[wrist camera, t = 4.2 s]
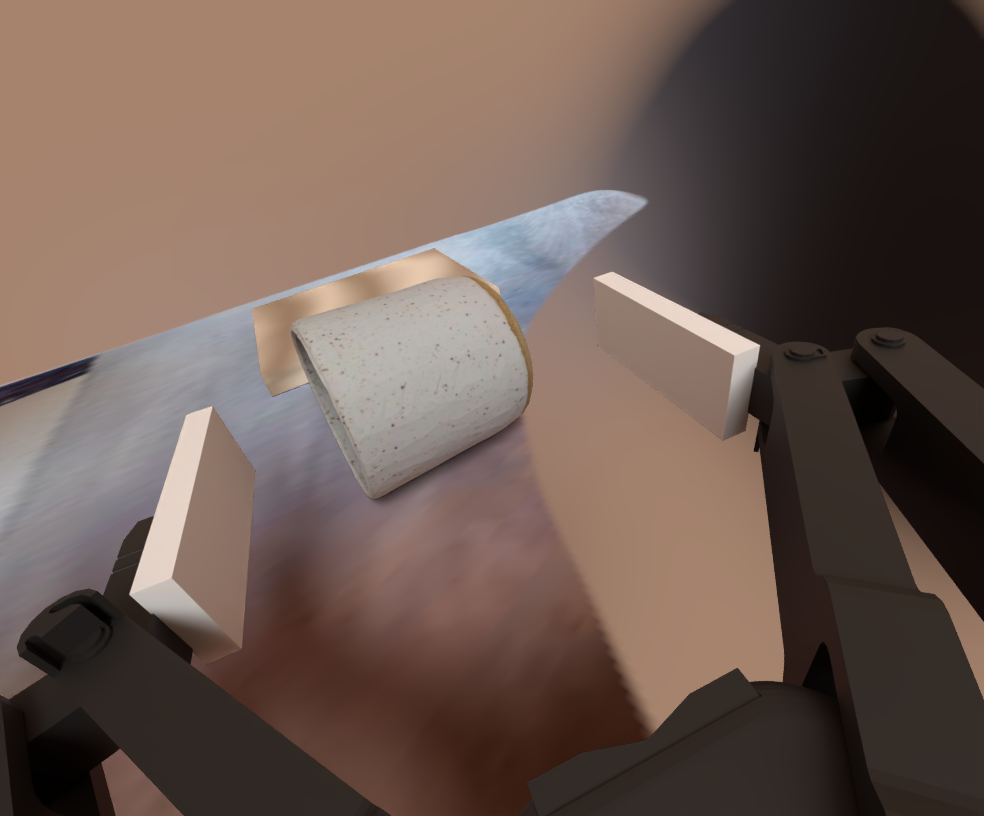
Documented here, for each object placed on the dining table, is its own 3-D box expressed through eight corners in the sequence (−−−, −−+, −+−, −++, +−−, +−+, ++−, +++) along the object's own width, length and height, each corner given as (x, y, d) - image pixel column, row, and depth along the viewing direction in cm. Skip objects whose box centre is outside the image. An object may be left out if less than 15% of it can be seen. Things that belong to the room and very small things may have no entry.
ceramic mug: (556, 437, 21) (531, 271, 17) (391, 537, 18) (310, 367, 14) (445, 360, 29) (409, 233, 25) (318, 421, 26) (251, 290, 22)
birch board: (272, 396, 29) (260, 376, 28) (260, 325, 39) (252, 308, 38) (502, 308, 33) (498, 287, 32) (438, 264, 43) (434, 248, 42)
